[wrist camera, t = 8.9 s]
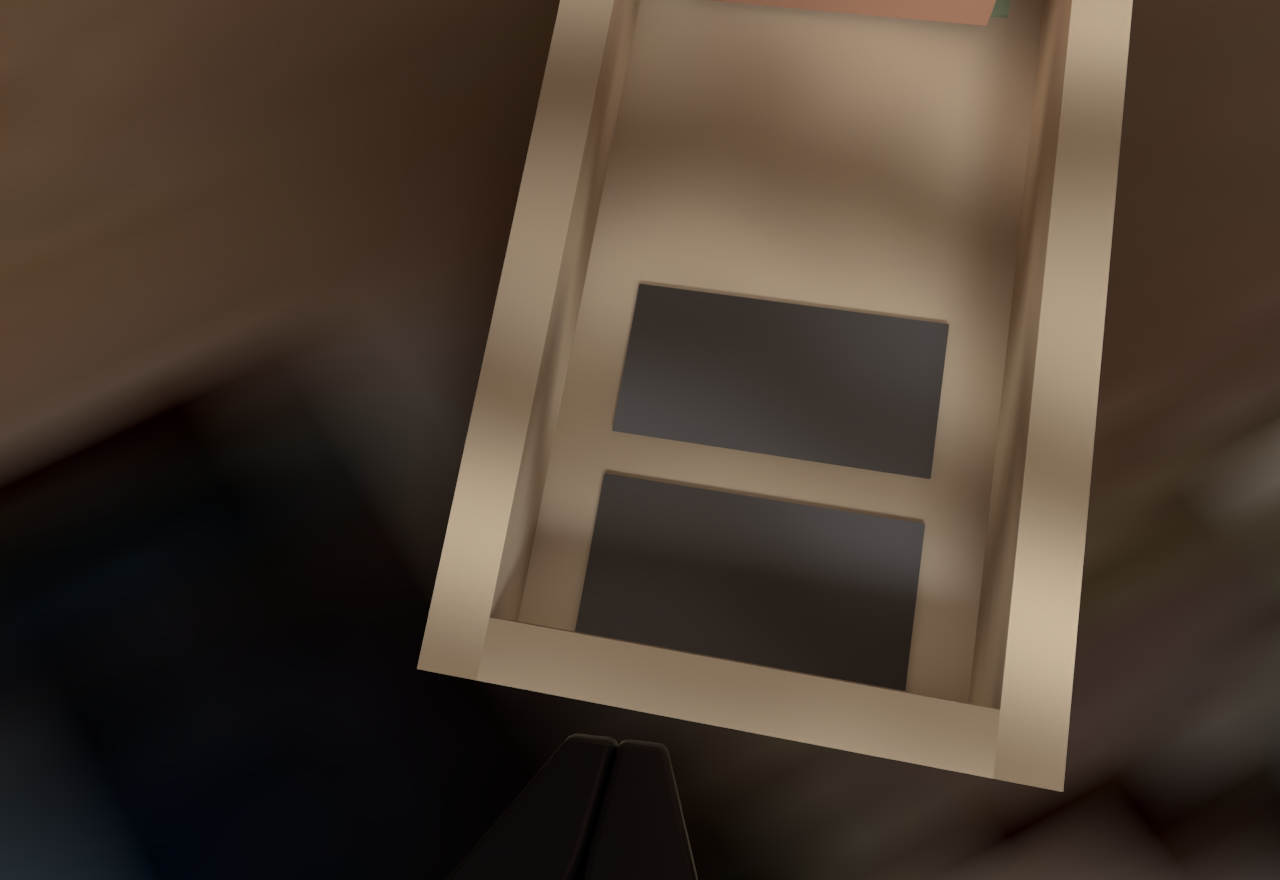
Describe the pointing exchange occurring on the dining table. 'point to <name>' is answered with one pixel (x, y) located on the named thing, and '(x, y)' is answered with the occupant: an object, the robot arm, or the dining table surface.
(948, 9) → the block
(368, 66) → the dining table surface
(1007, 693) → the beige tray
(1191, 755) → the dining table surface
